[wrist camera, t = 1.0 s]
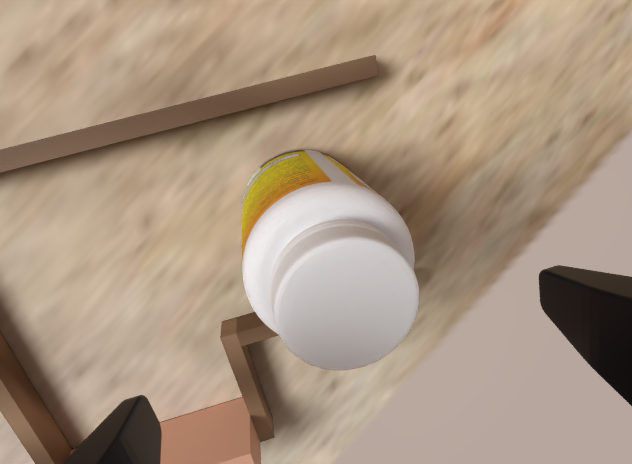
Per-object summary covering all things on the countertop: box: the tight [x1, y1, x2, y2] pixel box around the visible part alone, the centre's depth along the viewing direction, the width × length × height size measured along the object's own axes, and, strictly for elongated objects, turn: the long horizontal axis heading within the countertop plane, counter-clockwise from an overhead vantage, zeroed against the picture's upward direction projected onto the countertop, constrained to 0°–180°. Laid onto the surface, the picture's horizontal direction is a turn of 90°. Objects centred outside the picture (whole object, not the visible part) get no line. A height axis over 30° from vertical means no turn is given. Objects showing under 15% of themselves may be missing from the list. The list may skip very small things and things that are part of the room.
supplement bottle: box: [242, 149, 419, 370], centre depth 16 cm, size 6×6×10 cm
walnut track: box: [0, 55, 379, 464], centre depth 20 cm, size 18×21×2 cm
